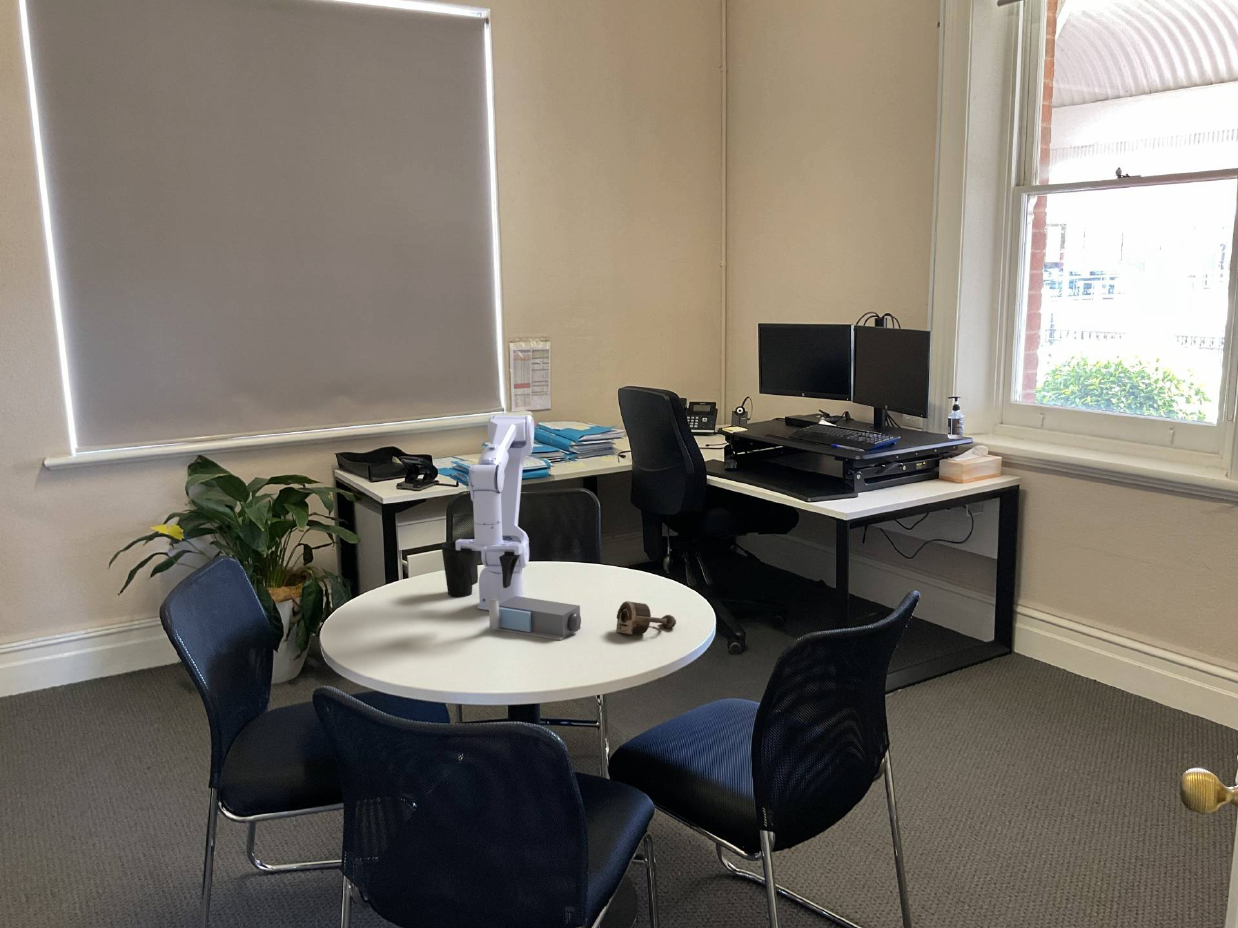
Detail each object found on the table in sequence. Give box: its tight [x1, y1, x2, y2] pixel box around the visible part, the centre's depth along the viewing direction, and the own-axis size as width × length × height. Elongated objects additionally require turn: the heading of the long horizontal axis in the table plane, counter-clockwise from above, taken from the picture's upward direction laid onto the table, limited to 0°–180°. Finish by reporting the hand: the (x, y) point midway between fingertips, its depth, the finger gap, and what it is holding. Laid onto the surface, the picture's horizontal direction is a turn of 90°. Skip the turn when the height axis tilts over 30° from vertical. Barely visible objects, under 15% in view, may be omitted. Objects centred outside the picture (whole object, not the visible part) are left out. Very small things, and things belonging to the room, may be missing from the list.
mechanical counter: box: [615, 600, 677, 635], centre depth 205 cm, size 7×13×10 cm
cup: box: [440, 540, 473, 598], centre depth 232 cm, size 8×8×12 cm
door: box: [488, 599, 531, 632], centre depth 204 cm, size 9×3×6 cm, turn 63°
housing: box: [494, 596, 582, 641], centre depth 207 cm, size 17×8×5 cm, turn 63°
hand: (490, 585), depth 207 cm, fingers open, 7 cm apart
